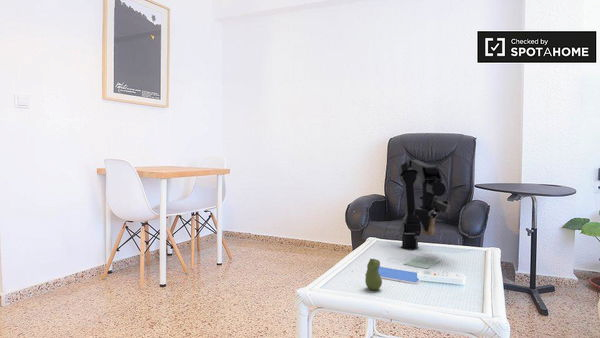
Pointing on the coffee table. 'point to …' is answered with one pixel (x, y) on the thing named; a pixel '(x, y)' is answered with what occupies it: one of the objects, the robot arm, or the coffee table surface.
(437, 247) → the coffee table surface
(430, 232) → the walnut block
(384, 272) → the tablet computer
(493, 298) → the coffee table surface
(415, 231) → the robot arm
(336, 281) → the coffee table surface
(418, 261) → the pale green flat panel
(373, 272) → the pear
